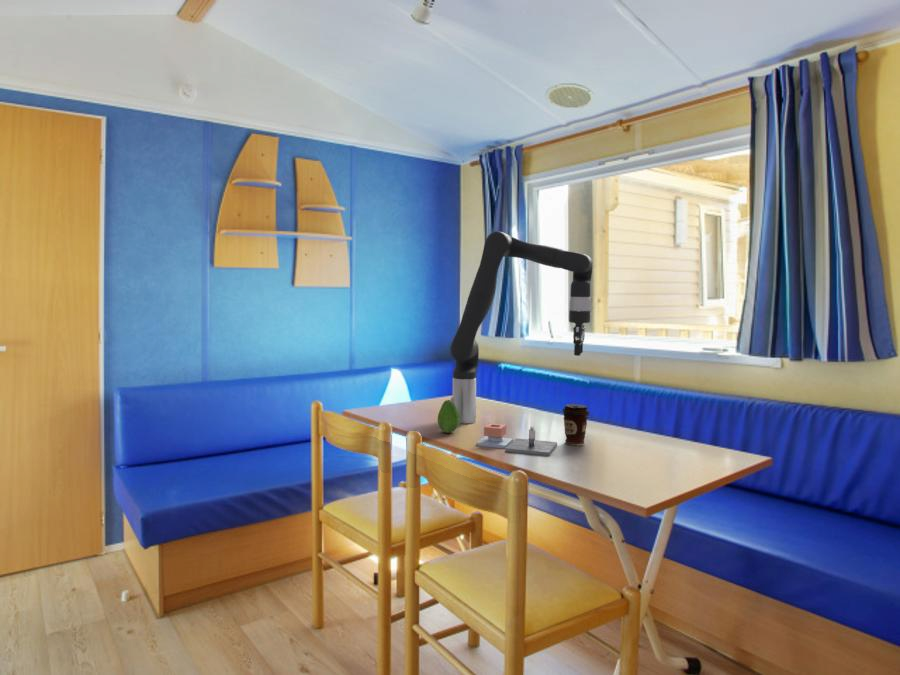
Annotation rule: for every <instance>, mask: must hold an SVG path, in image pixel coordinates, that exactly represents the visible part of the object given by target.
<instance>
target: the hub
mask: <svg viewBox="0 0 900 675" xmlns="http://www.w3.org/2000/svg"><path fill="white" fill-rule="evenodd" d="M557 447H558V441H550V440H549V441H548V440H539V439H538V440H537V439H536V429H535V427H534V426H530V428H529V429H528V439H527V438H517V437H516V438H514V439H513V442H512V443H510V444H509V445H508V446H507V447H506V448H504V449H505V453H514V454H521V455H522V454H523V455H534V456H542V457H543V456H544V457H550V455H552V453H553V452H554V451H555V449H556V448H557Z"/></svg>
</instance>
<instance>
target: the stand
mask: <svg viewBox="0 0 900 675" xmlns="http://www.w3.org/2000/svg"><path fill="white" fill-rule="evenodd" d="M513 441H514V438H512V437H511V438H509V437H490V436H483V437H482V438H481V439H479V440H478V441H477V442H476V445H475V446H478V447H487V448H498V449H505V448H506V447H507V446H508V445H509V444H510V443H512V442H513Z"/></svg>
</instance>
